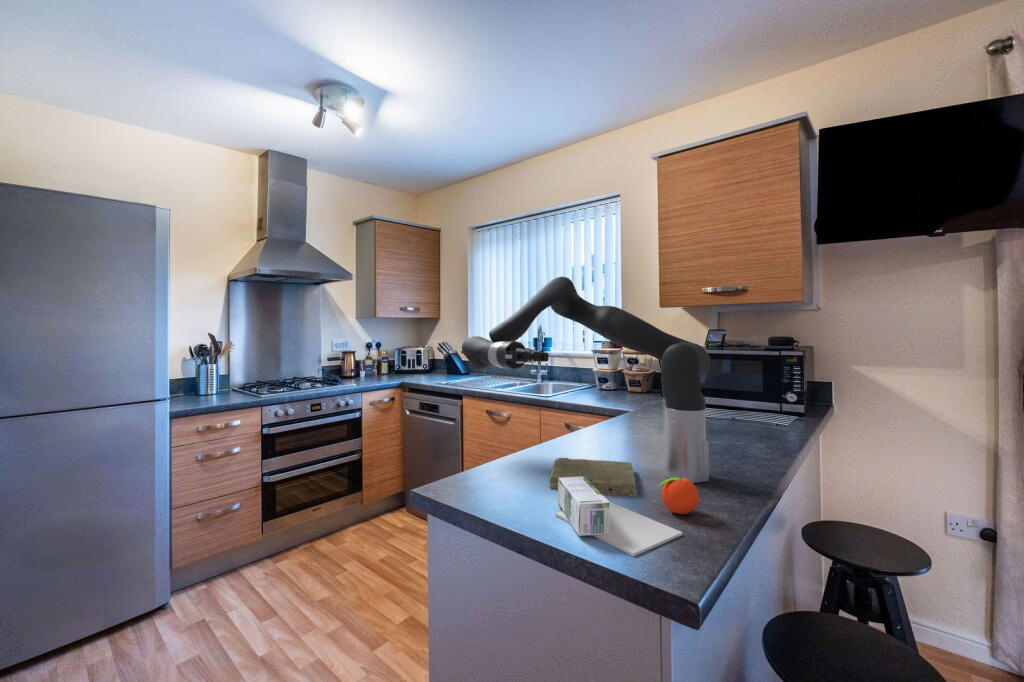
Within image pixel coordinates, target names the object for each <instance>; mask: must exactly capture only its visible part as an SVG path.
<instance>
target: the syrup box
mask: <svg viewBox="0 0 1024 682" xmlns="http://www.w3.org/2000/svg"><path fill="white" fill-rule="evenodd" d="M610 502H611V501H609V499H607V498H606V496H604V494H601V493H600V492H599V491H598V490H597V489H596V488H595V487H594V486H593V485H592V484H591V483H590V482H589V481H588V480H587V479H586V478H585V477H584V476H580V477H564V478H558V490H557V505H558V507H559V508H560V511H563V513H564V514H565V516H566V517H567V519H568V520H569V522H570V523H571V524H570V523H569V524H570V525H571V526H572V527H573V529H574V531H575V532H576V533H577V535H578V536H579V537H580V536H581V537H582V536H593V535H600V534H609V503H610Z"/></svg>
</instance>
